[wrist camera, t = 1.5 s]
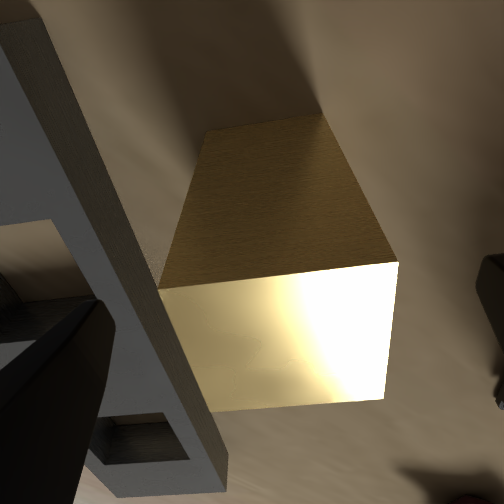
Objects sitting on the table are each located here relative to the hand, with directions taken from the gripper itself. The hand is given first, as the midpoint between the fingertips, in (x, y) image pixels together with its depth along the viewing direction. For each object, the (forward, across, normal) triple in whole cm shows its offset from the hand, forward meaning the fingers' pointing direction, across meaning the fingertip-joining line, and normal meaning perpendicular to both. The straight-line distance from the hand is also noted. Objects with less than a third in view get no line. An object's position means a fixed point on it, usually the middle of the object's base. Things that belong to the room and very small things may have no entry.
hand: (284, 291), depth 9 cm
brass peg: (+6, 0, 0) cm, 6 cm away
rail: (+6, +10, +8) cm, 14 cm away
